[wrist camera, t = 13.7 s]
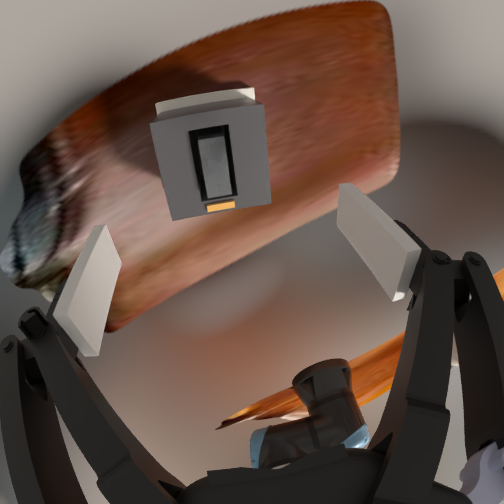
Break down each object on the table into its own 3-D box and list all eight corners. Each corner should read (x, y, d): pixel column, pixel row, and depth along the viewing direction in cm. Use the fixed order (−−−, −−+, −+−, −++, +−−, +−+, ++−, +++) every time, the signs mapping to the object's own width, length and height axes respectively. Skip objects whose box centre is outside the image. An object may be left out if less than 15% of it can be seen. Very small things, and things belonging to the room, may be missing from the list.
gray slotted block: (249, 97, 25) (264, 104, 20) (256, 176, 31) (272, 204, 25) (160, 112, 25) (148, 124, 19) (177, 190, 30) (172, 222, 24)
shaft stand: (259, 178, 33) (280, 217, 25) (175, 193, 32) (169, 236, 24) (251, 87, 26) (272, 92, 19) (157, 102, 25) (139, 114, 18)
